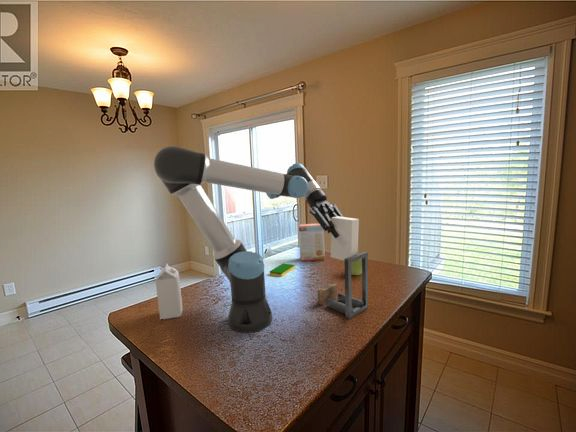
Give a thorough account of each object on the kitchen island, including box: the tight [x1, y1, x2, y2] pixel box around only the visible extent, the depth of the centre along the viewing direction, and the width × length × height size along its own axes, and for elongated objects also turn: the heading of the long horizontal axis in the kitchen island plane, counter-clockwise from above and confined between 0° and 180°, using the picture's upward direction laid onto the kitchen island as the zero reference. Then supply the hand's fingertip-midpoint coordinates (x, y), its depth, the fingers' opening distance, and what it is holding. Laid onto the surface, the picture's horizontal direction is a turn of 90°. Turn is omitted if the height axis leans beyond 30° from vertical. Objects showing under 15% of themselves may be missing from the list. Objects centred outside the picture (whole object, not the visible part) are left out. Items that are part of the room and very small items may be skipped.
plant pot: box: [351, 259, 362, 276], centre depth 138 cm, size 9×9×9 cm
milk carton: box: [154, 262, 184, 321], centre depth 104 cm, size 7×7×19 cm
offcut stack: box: [317, 283, 338, 306], centre depth 110 cm, size 8×3×6 cm, turn 131°
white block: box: [330, 216, 360, 262], centre depth 101 cm, size 4×9×15 cm, turn 42°
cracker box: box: [298, 223, 326, 262], centre depth 163 cm, size 14×6×21 cm, turn 84°
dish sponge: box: [269, 263, 295, 278], centre depth 146 cm, size 7×14×2 cm, turn 150°
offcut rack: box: [326, 251, 369, 320], centre depth 102 cm, size 12×12×21 cm
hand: (348, 242), depth 100 cm, fingers closed on white block, 4 cm apart
